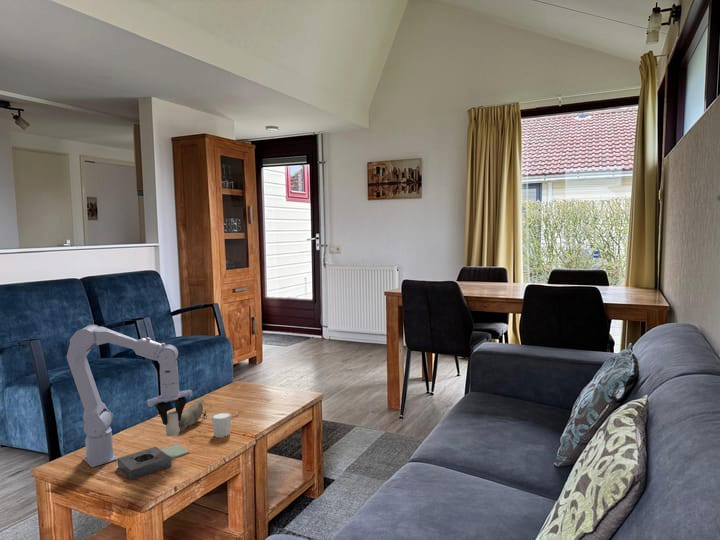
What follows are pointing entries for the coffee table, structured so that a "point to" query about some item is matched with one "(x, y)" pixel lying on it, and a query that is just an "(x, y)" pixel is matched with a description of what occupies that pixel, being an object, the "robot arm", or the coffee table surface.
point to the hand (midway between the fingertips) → (171, 422)
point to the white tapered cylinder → (221, 424)
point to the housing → (144, 463)
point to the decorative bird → (191, 415)
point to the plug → (172, 424)
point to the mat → (175, 451)
